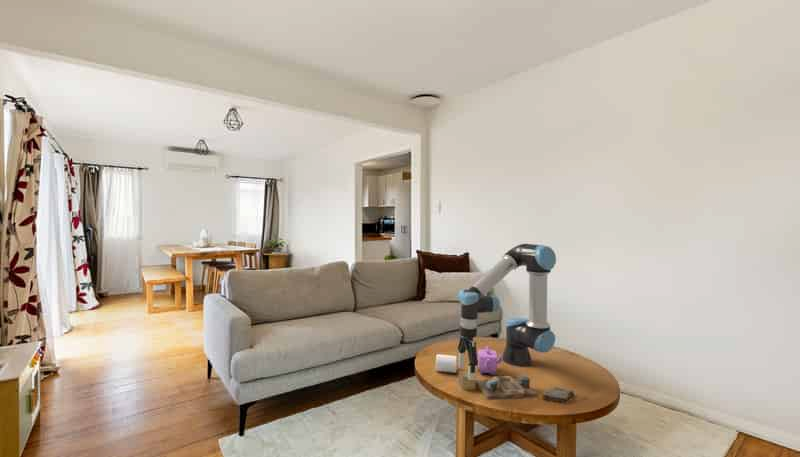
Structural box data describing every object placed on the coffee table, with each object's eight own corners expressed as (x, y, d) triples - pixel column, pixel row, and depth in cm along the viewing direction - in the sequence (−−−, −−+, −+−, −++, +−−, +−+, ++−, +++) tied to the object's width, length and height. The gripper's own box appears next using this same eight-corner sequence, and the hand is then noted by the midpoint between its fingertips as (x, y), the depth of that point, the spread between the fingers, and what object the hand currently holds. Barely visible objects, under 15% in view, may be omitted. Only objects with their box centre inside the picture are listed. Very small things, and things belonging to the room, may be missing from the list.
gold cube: (470, 383, 171) (471, 370, 170) (475, 389, 165) (475, 376, 165) (458, 384, 170) (458, 371, 170) (462, 390, 164) (462, 376, 164)
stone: (557, 390, 167) (557, 383, 167) (575, 397, 161) (576, 390, 161) (541, 400, 157) (541, 393, 157) (560, 408, 151) (561, 401, 151)
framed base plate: (520, 380, 175) (520, 375, 174) (537, 396, 160) (537, 390, 160) (474, 383, 171) (474, 377, 171) (487, 398, 156) (487, 392, 156)
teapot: (466, 368, 188) (467, 347, 187) (486, 363, 194) (487, 343, 194) (487, 380, 175) (488, 357, 174) (507, 374, 181) (508, 353, 181)
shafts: (526, 383, 169) (526, 375, 169) (533, 390, 163) (533, 381, 163) (481, 385, 165) (482, 377, 165) (487, 392, 159) (487, 383, 159)
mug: (455, 375, 178) (456, 359, 178) (435, 373, 180) (435, 357, 180) (456, 366, 190) (457, 351, 190) (437, 364, 192) (438, 349, 192)
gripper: (452, 319, 178) (450, 362, 179) (470, 335, 153) (467, 385, 154) (467, 319, 179) (465, 362, 180) (487, 335, 155) (484, 384, 155)
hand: (466, 372), depth 167 cm, fingers open, 13 cm apart
